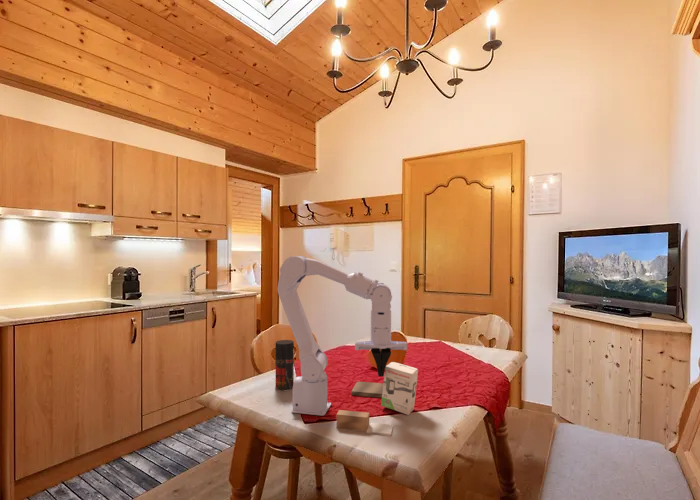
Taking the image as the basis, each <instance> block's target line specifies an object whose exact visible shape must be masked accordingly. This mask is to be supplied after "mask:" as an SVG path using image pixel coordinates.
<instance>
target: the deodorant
mask: <svg viewBox="0 0 700 500" xmlns="http://www.w3.org/2000/svg"><path fill="white" fill-rule="evenodd" d="M294 343H295V341H293V340H292V339H280V340H276V341H275V390H277V391H281V392H285V391H290V390H293V383H294V380H295V378H294V376H295V374H294V372H295V371H294V368H295V367H294V363H295V361H294V357H295V356H294V355H295V353H294V351H295V349H294V346H295V344H294Z"/></svg>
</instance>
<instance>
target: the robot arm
mask: <svg viewBox="0 0 700 500" xmlns="http://www.w3.org/2000/svg"><path fill="white" fill-rule="evenodd" d="M317 275H318V276H320V277H324V278H326V279H329V280H331V281H334V282H336V283H339V284H341V285H343V286H344V288H345V290H346V292H348V293H350V294H353V295H354V296H355V295H356V296H357V297H360V298H361V299H364V300H370V301H371V310H370V340H366V341H365V340H364V341H355V342H354V350H355V351H359V350H360V351H362V350H363V351H364V350H365V351H371V355H372V356H373V359H374V361H375V365H376V368H377V369H376V370H377V376H378V377H381V378H382V377H383V378H384V375H385V367H386V365H388V361H389V359H390V358H391V355H392V351H393V350H394V351H395V350H396V351H397V350H402V351H407V350H408V343H407V342H406V341H399V340H398V341H397V340H396V341H395V340H392V309H391V308H392V305H391V302H392V299H393V295H392V291H391V288H390V287H389V286H388V285H387V284H385V283H383V282H379V281H380V280H378V279H374V280H373V279H371V278H369V277H367V276H364V273H362V272H360V271H359V272H358V273H357V272H352V273H350V274H349V273H346V272H344V271H341V270H339V269H337V268H335V267H333V266H331V265H329V264H326V263H324V262H322V261H320V260H317V259H314V258H311V257H306V256H304V255H292V256H288V257H287V258H286V259H285V260H284V261H283V263H282V264H281V266H280V268H279V278H278V283H277V294H278V297H279V299H280V302H281V304H282V307H283V309H284V312H285V316H286V318H287V320H288V321H287V322H288V323H289V326H290V329H291V332H292V335H293V336H294V339H295V341H296V344H297V347H298V358H299V362H300V369H299V370H300V373H301V376H295V378H294V383H293V389H292V410H291V413H294V414H302V415H303V414H304V415H312V416H322V417H323V416H325V415H326V413H327V412H328V410H329V409H330V407H331V405H332V402H328V375H327V373H326V371H325V369H326V367H327V366H328V357H327V355H326V353H325V352H323V351H322V349H321V347H320V344H318V342H317V341H316V339H315V337H314V334H313V332H312V329H311V326H310V323H309V322H308V318H307V316H306V312H305V311H304V307H303V304H302V302H301V299H300V297H299V294H298V288H299V286H300V284H301V282H302V281H303V279H304V278H306V277H307V276H317Z"/></svg>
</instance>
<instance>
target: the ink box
mask: <svg viewBox="0 0 700 500" xmlns="http://www.w3.org/2000/svg"><path fill="white" fill-rule="evenodd" d="M418 375H419V369H418V368H416V367H413V366H410V365H406V364H402V363H400V362H395V361H391V362H389V363H387V364H386V367H385V370H384V376H383V383H384V384H383V393H382V398H381V402H380V405H381V406H382V407H384V408H387V409H390V410H392V411H396V412H399V413H402V414H405V415H408V416H409V415H410V414H411V413H412V412H413V411H414V409H415V404H416V403H415V402H416V394H417V385H418Z"/></svg>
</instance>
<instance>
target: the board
mask: <svg viewBox="0 0 700 500" xmlns="http://www.w3.org/2000/svg"><path fill="white" fill-rule="evenodd" d="M354 384H355V385H354V386H353V388H352V390H351V391H350V393H351V396H356V397H357V396H358V397H359V396H360V397H372V398H381V399H382V393H383V384H384V382H382V383H381V382H370V381H356V383H354Z"/></svg>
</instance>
